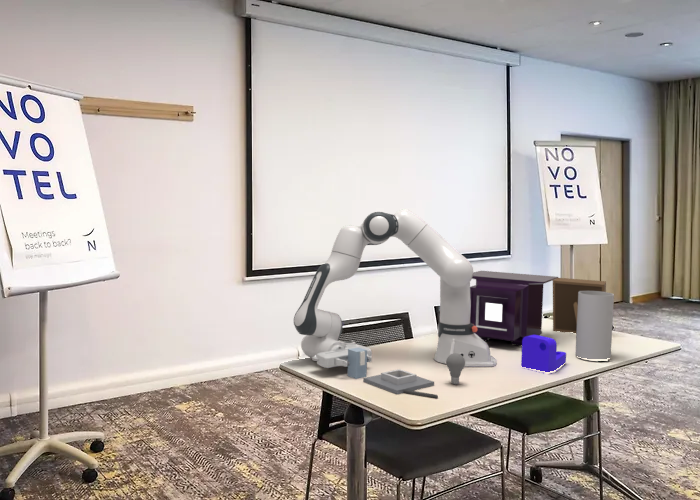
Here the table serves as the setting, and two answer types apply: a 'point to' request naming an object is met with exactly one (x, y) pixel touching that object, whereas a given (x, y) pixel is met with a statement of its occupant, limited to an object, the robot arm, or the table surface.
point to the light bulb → (455, 366)
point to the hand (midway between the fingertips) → (359, 361)
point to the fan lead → (420, 393)
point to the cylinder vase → (594, 324)
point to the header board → (398, 381)
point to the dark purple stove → (507, 305)
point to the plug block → (357, 363)
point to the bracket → (541, 353)
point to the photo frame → (570, 301)
